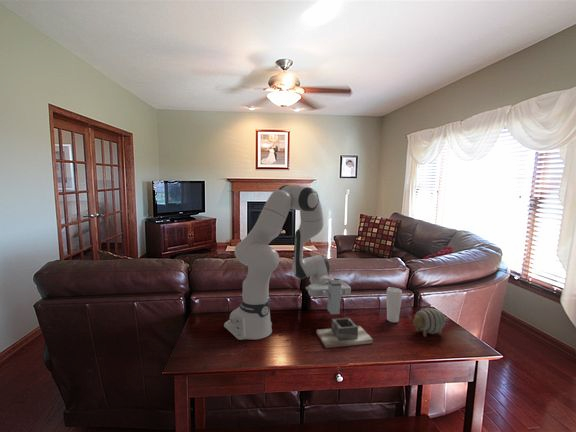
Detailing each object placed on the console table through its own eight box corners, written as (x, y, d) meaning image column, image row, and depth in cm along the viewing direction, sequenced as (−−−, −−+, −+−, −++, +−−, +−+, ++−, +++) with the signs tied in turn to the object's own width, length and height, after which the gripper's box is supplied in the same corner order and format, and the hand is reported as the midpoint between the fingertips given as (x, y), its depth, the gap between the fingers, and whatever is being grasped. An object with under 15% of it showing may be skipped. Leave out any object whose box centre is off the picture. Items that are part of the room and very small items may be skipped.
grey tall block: (327, 309, 135) (328, 280, 134) (335, 309, 136) (336, 279, 135) (331, 314, 131) (332, 283, 129) (339, 313, 131) (341, 283, 130)
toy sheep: (405, 330, 130) (406, 305, 129) (436, 325, 135) (438, 302, 134) (422, 342, 120) (424, 316, 119) (455, 336, 125) (457, 311, 124)
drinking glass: (401, 319, 140) (403, 289, 139) (398, 325, 135) (400, 293, 133) (387, 316, 144) (388, 286, 142) (383, 321, 138) (385, 290, 137)
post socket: (316, 332, 126) (317, 318, 126) (359, 328, 130) (360, 314, 130) (325, 348, 115) (326, 332, 114) (372, 343, 119) (373, 327, 118)
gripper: (304, 280, 143) (313, 290, 129) (344, 278, 147) (356, 288, 134) (304, 293, 143) (312, 304, 130) (343, 291, 148) (355, 301, 134)
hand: (334, 296), depth 132 cm, fingers closed on grey tall block, 4 cm apart
